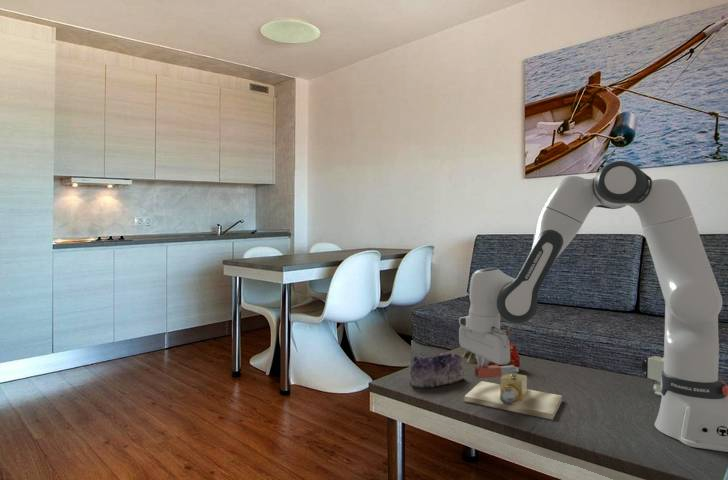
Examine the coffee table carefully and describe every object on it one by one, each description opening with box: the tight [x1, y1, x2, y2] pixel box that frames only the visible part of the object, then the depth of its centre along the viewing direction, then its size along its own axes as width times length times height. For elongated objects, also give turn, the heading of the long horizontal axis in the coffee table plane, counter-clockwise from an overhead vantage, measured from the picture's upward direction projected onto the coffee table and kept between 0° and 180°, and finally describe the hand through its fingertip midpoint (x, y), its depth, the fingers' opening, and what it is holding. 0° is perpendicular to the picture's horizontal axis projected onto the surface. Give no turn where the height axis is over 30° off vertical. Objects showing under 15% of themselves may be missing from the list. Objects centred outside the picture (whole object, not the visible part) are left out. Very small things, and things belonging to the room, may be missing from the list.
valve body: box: [499, 373, 528, 405], centre depth 135 cm, size 6×16×6 cm, turn 149°
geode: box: [409, 353, 465, 389], centre depth 151 cm, size 20×12×10 cm, turn 128°
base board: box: [463, 380, 563, 421], centre depth 135 cm, size 24×16×2 cm, turn 59°
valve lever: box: [474, 364, 520, 379], centre depth 133 cm, size 13×3×3 cm, turn 106°
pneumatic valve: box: [640, 355, 664, 397], centre depth 141 cm, size 6×12×12 cm, turn 32°
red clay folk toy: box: [497, 325, 521, 369], centre depth 166 cm, size 8×7×15 cm
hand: (482, 371), depth 134 cm, fingers closed
